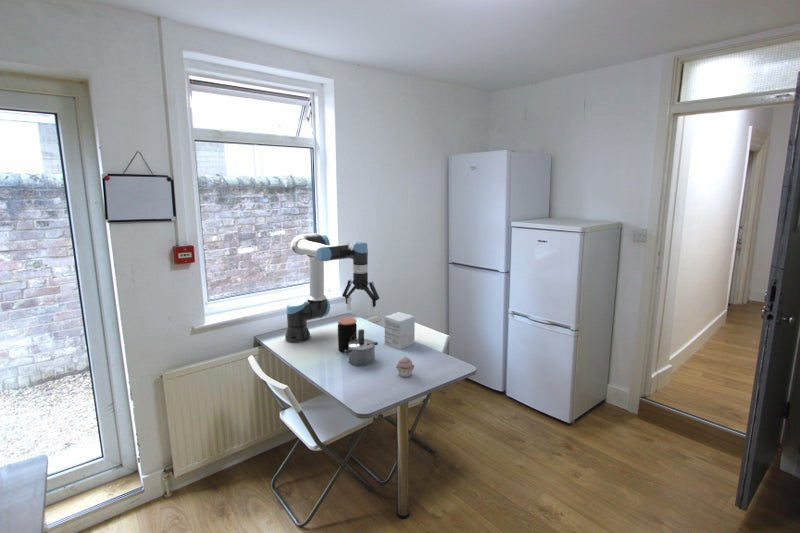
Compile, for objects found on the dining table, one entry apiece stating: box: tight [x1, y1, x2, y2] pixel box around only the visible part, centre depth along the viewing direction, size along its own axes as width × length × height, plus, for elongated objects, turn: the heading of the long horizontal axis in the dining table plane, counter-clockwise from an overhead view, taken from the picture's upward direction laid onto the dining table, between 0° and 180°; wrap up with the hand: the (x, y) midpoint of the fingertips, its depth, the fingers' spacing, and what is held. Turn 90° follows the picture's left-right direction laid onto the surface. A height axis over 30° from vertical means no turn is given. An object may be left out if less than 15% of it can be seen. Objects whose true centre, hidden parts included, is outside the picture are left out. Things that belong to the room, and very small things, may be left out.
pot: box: [343, 341, 379, 367], centre depth 217 cm, size 20×14×9 cm
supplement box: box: [384, 311, 416, 350], centre depth 240 cm, size 13×13×18 cm
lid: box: [348, 328, 375, 351], centre depth 215 cm, size 14×14×10 cm
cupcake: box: [395, 356, 415, 379], centre depth 201 cm, size 9×9×10 cm
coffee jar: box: [337, 317, 358, 354], centre depth 230 cm, size 11×11×18 cm
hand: (360, 311), depth 212 cm, fingers open, 13 cm apart
